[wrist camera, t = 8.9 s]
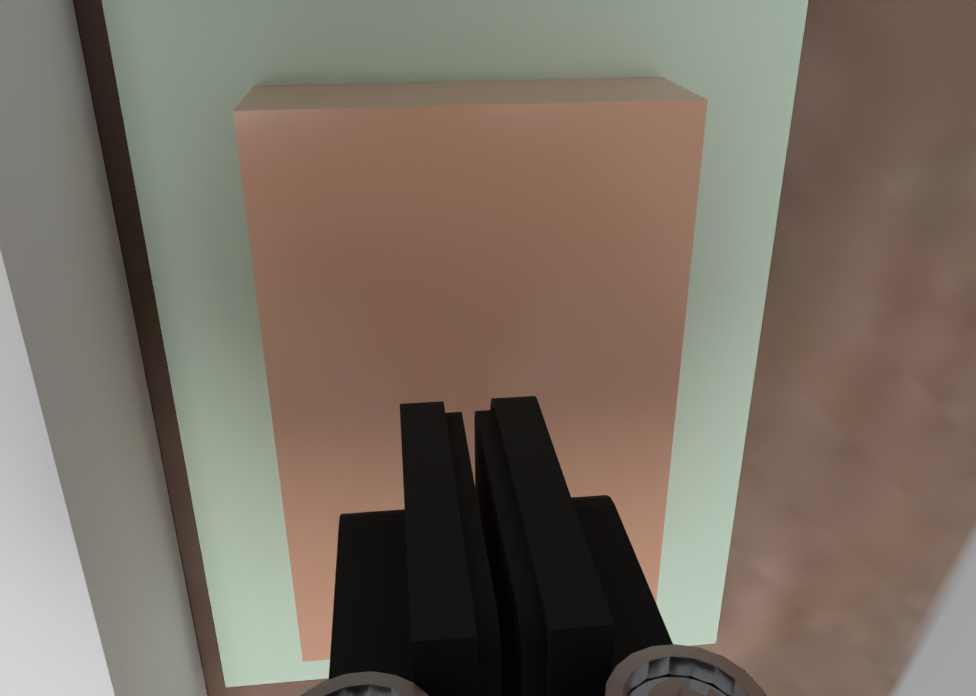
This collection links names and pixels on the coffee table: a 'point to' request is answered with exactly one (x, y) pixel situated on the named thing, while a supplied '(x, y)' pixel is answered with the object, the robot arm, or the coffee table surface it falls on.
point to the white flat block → (75, 403)
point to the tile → (468, 285)
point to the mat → (436, 58)
